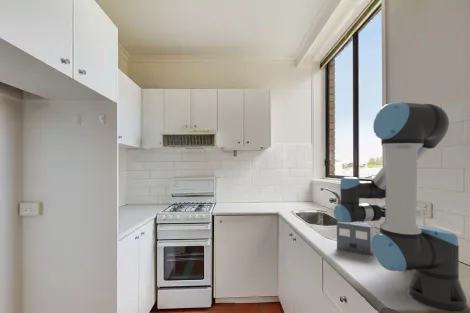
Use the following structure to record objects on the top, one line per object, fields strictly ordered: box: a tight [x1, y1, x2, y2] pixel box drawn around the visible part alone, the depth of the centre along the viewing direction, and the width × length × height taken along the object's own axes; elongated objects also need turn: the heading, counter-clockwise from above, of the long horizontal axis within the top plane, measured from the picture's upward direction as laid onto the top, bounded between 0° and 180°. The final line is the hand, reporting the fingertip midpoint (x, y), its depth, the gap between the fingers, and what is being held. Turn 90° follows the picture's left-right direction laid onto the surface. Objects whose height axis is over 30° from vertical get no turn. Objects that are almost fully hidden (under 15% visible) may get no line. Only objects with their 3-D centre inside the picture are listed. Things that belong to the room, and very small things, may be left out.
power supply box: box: [336, 221, 376, 257], centre depth 137 cm, size 11×16×14 cm, turn 52°
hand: (411, 210), depth 122 cm, fingers closed on thermos bottle, 8 cm apart
